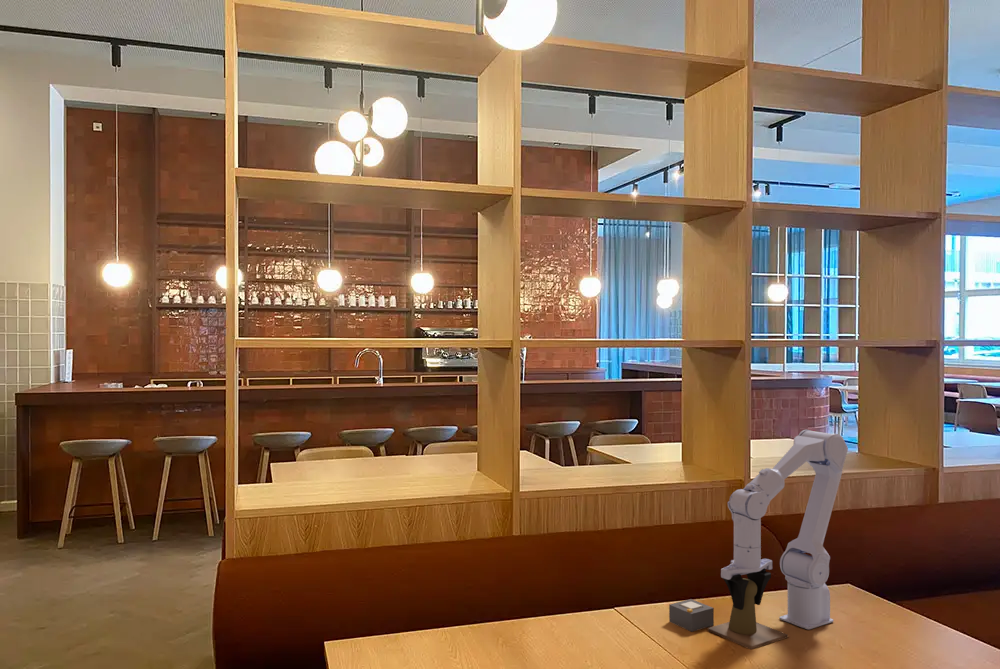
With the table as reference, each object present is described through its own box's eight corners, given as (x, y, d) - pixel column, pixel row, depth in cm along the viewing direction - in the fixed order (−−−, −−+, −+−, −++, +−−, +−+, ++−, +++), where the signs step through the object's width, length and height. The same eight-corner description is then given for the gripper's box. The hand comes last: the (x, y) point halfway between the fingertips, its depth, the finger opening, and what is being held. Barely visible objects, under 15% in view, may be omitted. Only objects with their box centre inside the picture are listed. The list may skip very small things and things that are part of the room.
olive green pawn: (757, 636, 168) (760, 587, 167) (729, 632, 170) (731, 583, 169) (755, 624, 174) (758, 577, 173) (727, 620, 175) (730, 573, 175)
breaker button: (691, 613, 179) (691, 601, 179) (702, 618, 176) (702, 605, 176) (680, 616, 177) (680, 604, 177) (691, 621, 174) (691, 608, 174)
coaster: (744, 620, 179) (744, 617, 179) (787, 637, 169) (787, 634, 169) (707, 630, 173) (707, 628, 173) (750, 649, 162) (750, 646, 162)
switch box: (691, 615, 182) (691, 597, 182) (713, 625, 176) (713, 606, 176) (669, 621, 178) (669, 602, 178) (691, 631, 172) (691, 612, 172)
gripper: (754, 536, 178) (754, 594, 178) (710, 545, 170) (710, 606, 170) (780, 543, 172) (780, 604, 172) (735, 553, 164) (735, 616, 164)
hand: (747, 606), depth 171 cm, fingers closed on olive green pawn, 5 cm apart
